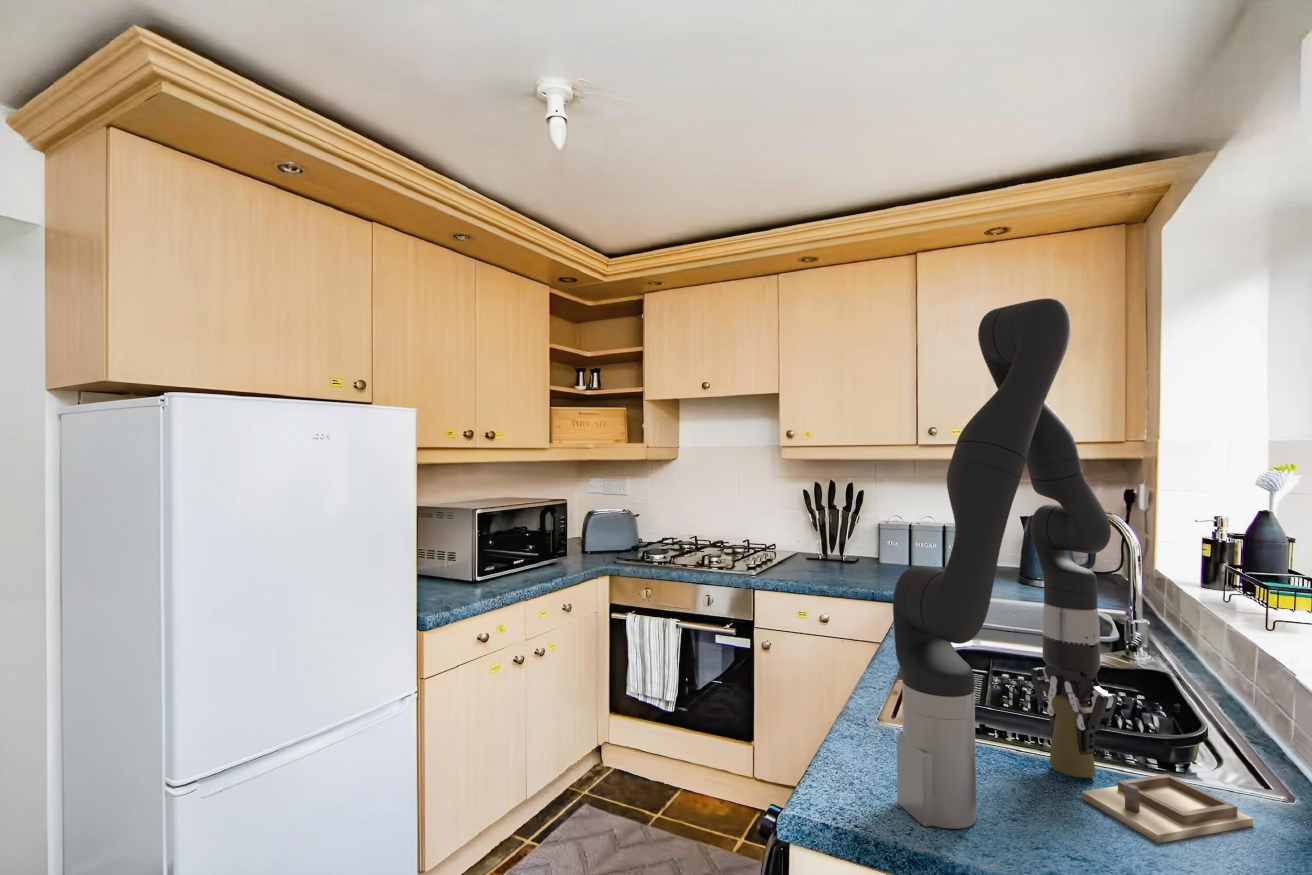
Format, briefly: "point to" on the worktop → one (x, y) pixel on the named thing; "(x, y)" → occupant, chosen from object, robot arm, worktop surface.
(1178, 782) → the socket plate
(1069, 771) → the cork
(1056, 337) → the robot arm
